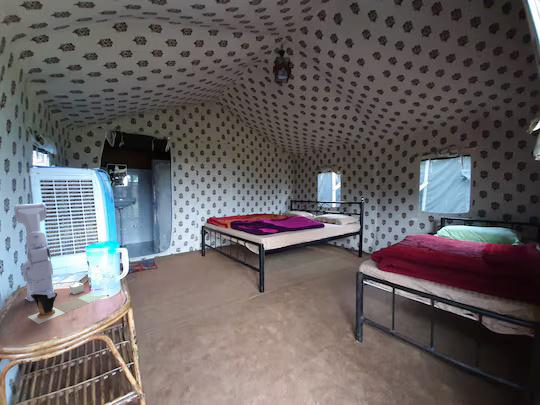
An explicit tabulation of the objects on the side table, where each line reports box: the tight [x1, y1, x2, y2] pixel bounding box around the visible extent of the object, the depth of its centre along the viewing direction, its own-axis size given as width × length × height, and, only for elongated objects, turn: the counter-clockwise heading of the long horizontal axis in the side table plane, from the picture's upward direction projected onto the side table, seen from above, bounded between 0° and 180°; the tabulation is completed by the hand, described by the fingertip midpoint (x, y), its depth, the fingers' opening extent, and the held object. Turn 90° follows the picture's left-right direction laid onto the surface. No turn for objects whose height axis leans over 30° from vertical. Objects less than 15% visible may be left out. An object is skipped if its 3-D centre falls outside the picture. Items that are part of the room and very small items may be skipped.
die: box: [69, 282, 85, 295], centre depth 118 cm, size 4×4×4 cm
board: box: [27, 292, 110, 325], centre depth 106 cm, size 10×25×1 cm, turn 152°
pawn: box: [37, 301, 55, 319], centre depth 99 cm, size 5×5×6 cm
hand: (45, 310), depth 99 cm, fingers open, 4 cm apart
